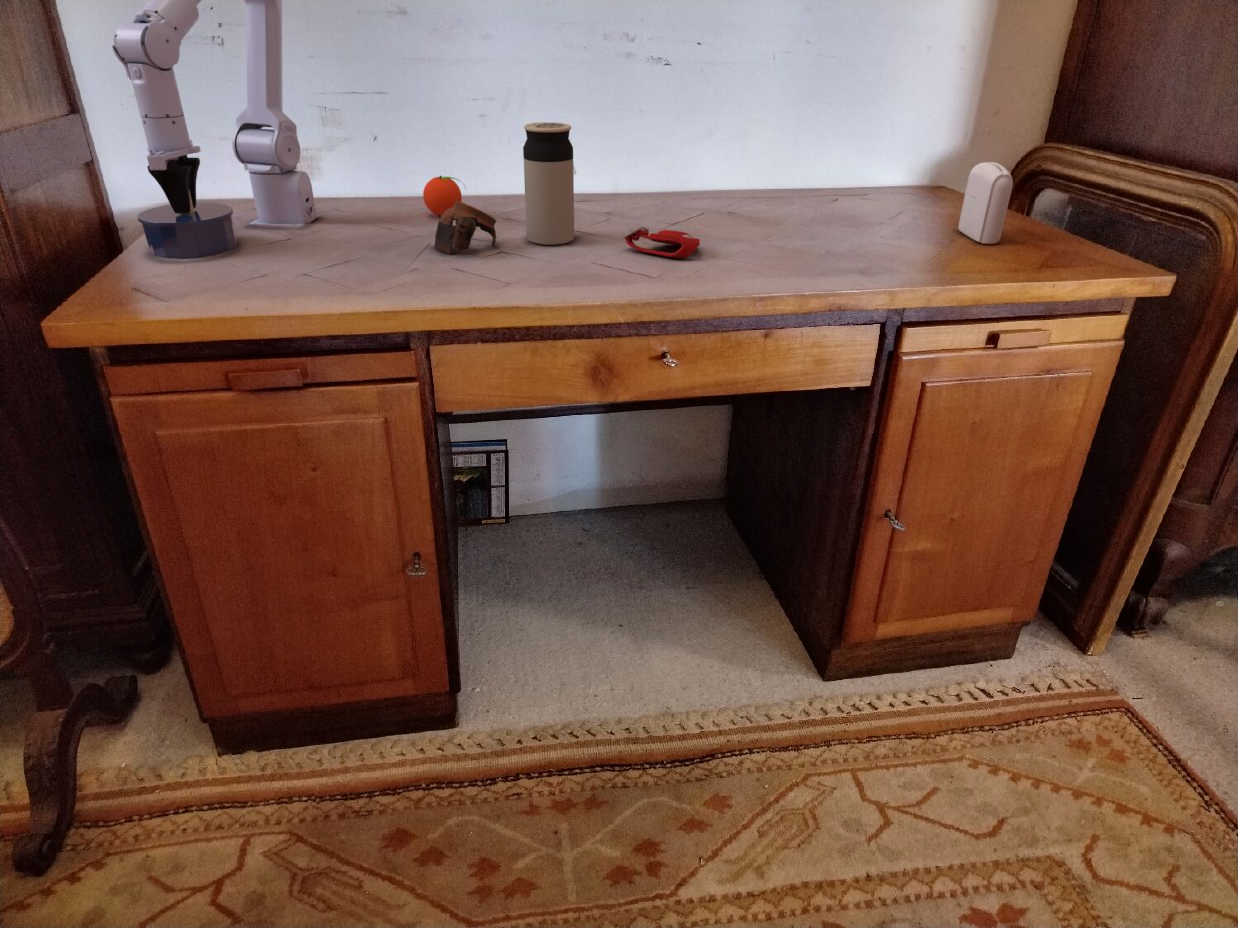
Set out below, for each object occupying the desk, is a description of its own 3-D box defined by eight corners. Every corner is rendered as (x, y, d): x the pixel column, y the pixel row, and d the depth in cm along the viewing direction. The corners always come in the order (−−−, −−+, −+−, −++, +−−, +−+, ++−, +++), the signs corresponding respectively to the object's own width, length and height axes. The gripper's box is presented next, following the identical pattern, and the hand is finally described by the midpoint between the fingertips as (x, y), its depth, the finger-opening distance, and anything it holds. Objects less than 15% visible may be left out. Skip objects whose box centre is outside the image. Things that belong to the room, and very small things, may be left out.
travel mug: (582, 237, 141) (581, 124, 132) (560, 248, 135) (557, 130, 126) (541, 231, 144) (538, 120, 135) (518, 242, 138) (512, 127, 129)
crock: (250, 241, 136) (243, 207, 133) (215, 263, 125) (207, 226, 122) (176, 239, 136) (168, 205, 133) (135, 261, 125) (125, 224, 123)
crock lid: (248, 210, 134) (242, 181, 132) (209, 231, 122) (202, 200, 120) (167, 208, 134) (160, 179, 132) (120, 229, 123) (112, 198, 120)
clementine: (464, 210, 157) (461, 170, 153) (472, 218, 151) (469, 178, 148) (422, 212, 154) (418, 173, 151) (428, 221, 149) (424, 180, 145)
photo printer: (953, 229, 149) (969, 157, 143) (977, 230, 149) (993, 158, 143) (977, 245, 140) (994, 169, 134) (1002, 245, 140) (1020, 169, 134)
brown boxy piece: (429, 245, 137) (448, 198, 136) (482, 269, 140) (501, 223, 139) (428, 245, 126) (449, 193, 125) (486, 271, 129) (507, 221, 127)
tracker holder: (683, 234, 139) (715, 233, 130) (680, 261, 140) (711, 262, 131) (619, 223, 134) (648, 222, 125) (616, 251, 135) (644, 252, 126)
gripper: (176, 122, 115) (199, 221, 122) (205, 109, 127) (225, 199, 134) (121, 123, 114) (148, 222, 121) (156, 109, 126) (179, 200, 133)
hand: (185, 210), depth 127 cm, fingers closed on crock lid, 2 cm apart
